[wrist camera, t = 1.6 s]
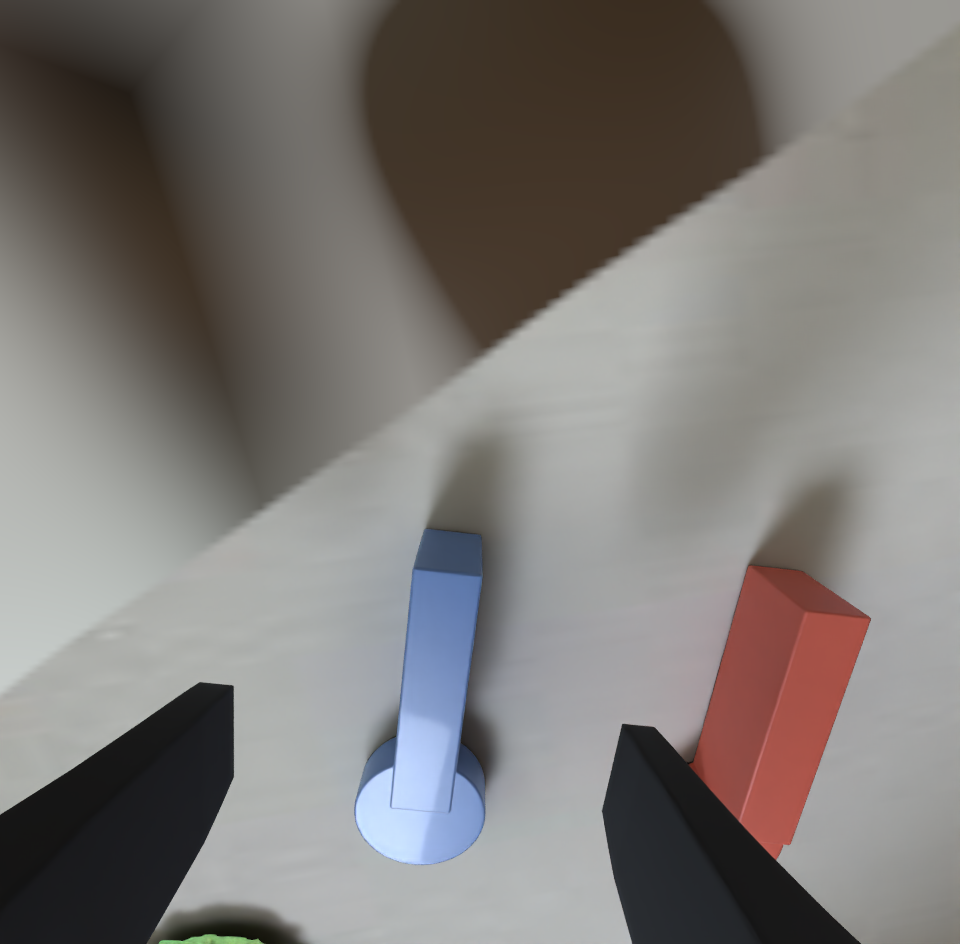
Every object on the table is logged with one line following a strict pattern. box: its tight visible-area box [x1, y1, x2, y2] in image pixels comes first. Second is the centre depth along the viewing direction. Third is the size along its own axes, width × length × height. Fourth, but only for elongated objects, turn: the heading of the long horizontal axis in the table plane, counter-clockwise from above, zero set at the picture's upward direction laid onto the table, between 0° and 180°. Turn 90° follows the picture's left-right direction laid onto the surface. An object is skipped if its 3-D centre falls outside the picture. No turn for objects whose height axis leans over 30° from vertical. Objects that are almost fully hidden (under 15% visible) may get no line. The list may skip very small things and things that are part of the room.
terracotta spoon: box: [688, 565, 871, 860], centre depth 12 cm, size 9×3×2 cm, turn 173°
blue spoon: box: [355, 529, 485, 865], centre depth 12 cm, size 9×3×2 cm, turn 173°
